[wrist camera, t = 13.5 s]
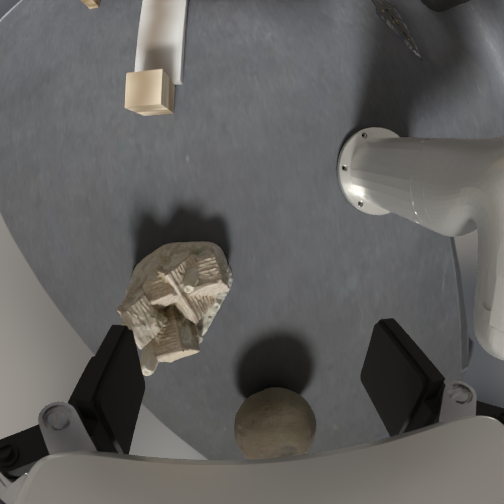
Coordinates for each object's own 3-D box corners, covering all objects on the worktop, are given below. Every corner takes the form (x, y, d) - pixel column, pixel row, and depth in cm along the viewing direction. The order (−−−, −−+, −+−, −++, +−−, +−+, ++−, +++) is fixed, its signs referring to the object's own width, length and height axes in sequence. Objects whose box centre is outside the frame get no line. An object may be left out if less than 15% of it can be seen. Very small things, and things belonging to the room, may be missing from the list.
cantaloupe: (320, 379, 51) (345, 441, 36) (280, 424, 54) (293, 482, 40) (254, 357, 47) (264, 427, 33) (217, 407, 51) (218, 472, 37)
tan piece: (192, -31, 27) (187, -60, 19) (181, 112, 34) (170, 103, 27) (151, -26, 26) (139, -53, 19) (136, 116, 34) (116, 108, 26)
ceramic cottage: (152, 348, 45) (138, 412, 31) (118, 254, 40) (79, 296, 26) (245, 329, 46) (261, 392, 32) (222, 229, 42) (229, 262, 27)
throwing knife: (354, -37, 27) (355, -38, 27) (428, 56, 33) (430, 56, 33) (335, -31, 28) (336, -33, 27) (413, 65, 34) (415, 65, 33)
